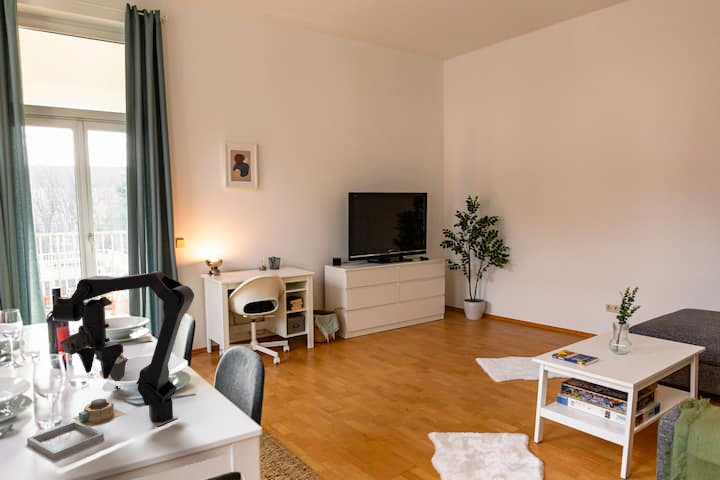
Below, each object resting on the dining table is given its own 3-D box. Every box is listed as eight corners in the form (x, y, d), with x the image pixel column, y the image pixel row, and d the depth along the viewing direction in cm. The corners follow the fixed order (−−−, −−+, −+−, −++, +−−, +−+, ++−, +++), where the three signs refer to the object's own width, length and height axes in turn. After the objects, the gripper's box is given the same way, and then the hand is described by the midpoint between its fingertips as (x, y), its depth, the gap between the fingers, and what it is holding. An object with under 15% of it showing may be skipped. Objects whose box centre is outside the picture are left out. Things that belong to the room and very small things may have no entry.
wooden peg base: (126, 416, 144) (125, 399, 144) (91, 430, 136) (90, 411, 135) (107, 409, 150) (106, 391, 149) (72, 421, 141) (71, 403, 141)
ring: (117, 414, 144) (117, 404, 143) (87, 425, 137) (87, 414, 136) (104, 408, 148) (104, 398, 147) (74, 419, 140) (74, 409, 140)
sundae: (120, 395, 160) (118, 349, 159) (102, 393, 162) (100, 348, 160) (133, 387, 167) (131, 343, 165) (116, 386, 168) (114, 342, 167)
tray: (104, 443, 129) (103, 433, 128) (54, 463, 119) (54, 453, 119) (76, 429, 136) (75, 420, 136) (27, 447, 126) (27, 438, 126)
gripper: (47, 323, 139) (50, 377, 140) (82, 332, 129) (85, 391, 130) (87, 315, 148) (90, 366, 149) (123, 323, 138) (125, 378, 139)
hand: (96, 375), depth 142 cm, fingers open, 9 cm apart
